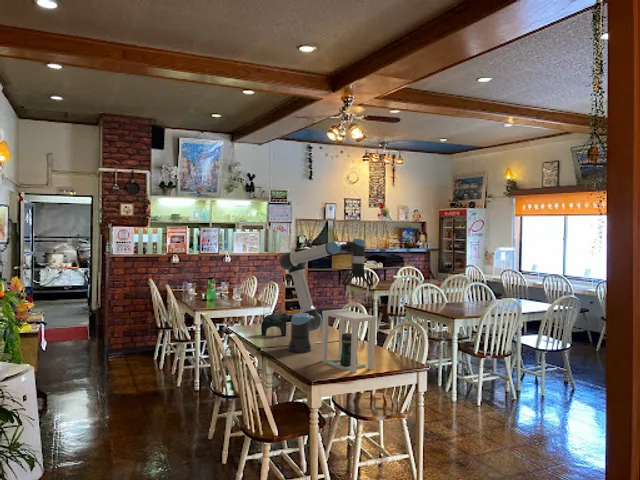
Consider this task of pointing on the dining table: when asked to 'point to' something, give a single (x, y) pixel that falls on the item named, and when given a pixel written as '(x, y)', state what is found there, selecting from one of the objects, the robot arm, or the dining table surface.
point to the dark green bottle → (346, 349)
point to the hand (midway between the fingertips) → (357, 296)
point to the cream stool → (354, 318)
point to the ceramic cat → (275, 322)
